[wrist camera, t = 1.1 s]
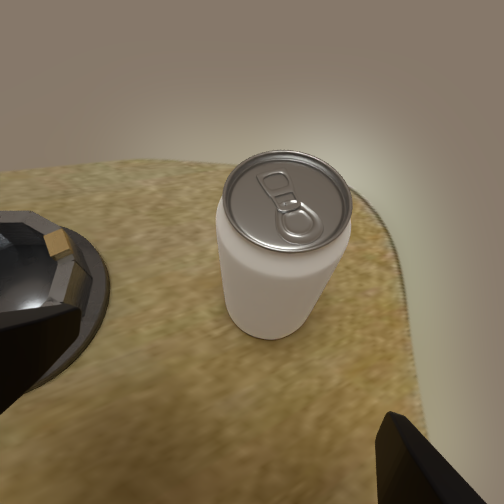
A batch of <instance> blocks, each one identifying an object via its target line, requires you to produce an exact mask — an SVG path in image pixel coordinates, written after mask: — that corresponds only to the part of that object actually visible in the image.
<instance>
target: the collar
mask: <svg viewBox="0 0 504 504" xmlns="http://www.w3.org/2000/svg"><path fill="white" fill-rule="evenodd" d="M109 294H110V282H109V276H108V271H107V268H106V265H105V263H104V261H103V259H102V258H101V256H100V255H99V253H98V252H97V251H96V250H95V248H94V247H93V246H92V245H91V243H90V242H89V241H87V240H86V239H85V238H84V237H83V236H81V235H80V234H78V233H77V232H75V231H72V230H70V229H68V228H65V227H61V226H58V225H56V224H54V223H53V222H51V221H49V220H47V219H45V218H43V217H42V216H40V215H38V214H36V213H34V212H33V211H32V212H31V211H0V312H7V311H15V310H22V309H29V308H37V307H44V306H52V305H59V304H71V305H74V306H77V307H79V308H80V309H81V311H82V315H81V325H80V333H79V336H78V338H77V339H76V341H75V342H74V343H73V344H72V345H71V346H70V347H69V348H68V349H67V350H66V351H65V352H64V354H63V355H62V356H61V357H60V358H59V359H58V360H57V361H56V362H55V363H54V364H53V365H52V367H51V368H50V369H49V370H48V371H47V372H46V373H45V374H44V375H43V376H42V377H41V378H40V379H39V380H38V381H37V382H36V383H35V384H34V385H33V386H32V387H31V388H30V389H29V390H27V391H26V392H25V393H27V392H29V391H31V390H33V389H35V388H37V387H39V386H41V385H43V384H45V383H46V382H48V381H49V380H51V379H53V378H54V377H56V376H57V375H58V374H60V373H61V372H62V371H64V370H65V369H66V368H67V367H68V366H69V365H70V364H71V363H73V362H74V361H75V360H76V359H77V358H78V357H79V356H80V354H81V353H82V352H83V351H84V350H85V349H86V347H87V346H88V345H89V343H90V342H91V340H92V339H93V338H94V336H95V334H96V333H97V331H98V329H99V327H100V325H101V323H102V321H103V318H104V316H105V313H106V309H107V306H108V301H109Z"/></svg>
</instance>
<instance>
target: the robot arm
mask: <svg viewBox="0 0 504 504" xmlns="http://www.w3.org/2000/svg"><path fill="white" fill-rule="evenodd" d="M81 315H82V311H81V309H80V308H79V307H77V306H74V305H71V304H59V305H52V306H44V307H37V308H29V309H22V310H15V311H7V312H0V415H1V414H2V413H3V412H4V411H5V410H6V409H7V408H9V407H10V406H11V405H12V404H13V403H14V402H15V401H16V400H17V399H19V398H20V397H21V396H22V395H23V394H24V393H25V392H26V391H27V390H29V389H30V388H31V387H32V386H33V385H34V384H35V383H36V382H37V381H38V380H39V379H40V378H41V377H42V376H43V375H44V374H45V373H46V372H47V371H48V370H49V369H50V368H51V367H52V365H53V364H54V363H55V362H56V361H57V360H58V359H59V358H60V357H61V356H62V355H63V354H64V352H65V351H66V350H67V349H68V348H69V347H70V346H71V345H72V344H73V343H74V342H75V341H76V339H77V338H78V336H79V333H80V325H81ZM375 452H376V474H377V495H378V504H487V503H486V502H484V500H483V499H482V498H481V497H480V496H479V495H478V494H477V493H476V492H475V491H474V489H473V488H472V487H471V486H470V485H469V484H468V483H467V482H466V481H465V480H464V479H463V478H462V477H461V476H460V475H459V473H458V472H457V471H456V470H455V469H454V468H453V467H452V466H451V465H450V464H449V463H448V462H447V461H446V459H445V458H444V457H443V456H442V455H441V454H440V453H439V452H438V451H437V450H436V449H435V448H434V447H433V446H432V444H431V443H430V442H429V441H428V440H427V439H426V438H425V437H424V436H423V435H422V434H421V433H420V432H419V431H418V429H417V428H416V427H415V426H414V425H413V424H412V423H411V422H410V421H409V420H408V419H407V418H406V417H405V416H403V415H401V414H398V413H395V412H392V411H389V412H387V413H386V415H385V417H384V419H383V421H382V424H381V426H380V428H379V431H378V433H377V435H376V440H375Z"/></svg>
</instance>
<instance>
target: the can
mask: <svg viewBox="0 0 504 504" xmlns="http://www.w3.org/2000/svg"><path fill="white" fill-rule="evenodd" d="M351 214H352V197H351V193H350V190H349V188H348V185H347V184H346V182H345V180H344V179H343V177H342V176H341V175H340V174H339V173H338V172H337V171H336V170H335V169H334V168H333V167H332V166H330V165H329V164H328V163H326V162H324V161H323V160H321V159H319V158H317V157H315V156H312V155H309V154H306V153H302V152H298V151H291V150H274V151H268V152H264V153H260V154H257V155H254V156H252V157H250V158H248V159H246V160H245V161H243V162H241V163H240V164H239V165H238V166H237V167H236V168H235V169H234V170H233V171H232V172H231V173H230V175H229V176H228V178H227V180H226V182H225V185H224V189H223V195H222V197H221V199H220V201H219V204H218V207H217V212H216V233H217V242H218V250H219V258H220V266H221V274H222V282H223V289H224V297H225V303H226V307H227V310H228V313H229V315H230V317H231V319H232V320H233V321H234V323H235V324H236V325H237V326H238V327H239V328H240V329H241V330H243V331H244V332H246V333H247V334H249V335H251V336H254V337H257V338H261V339H269V340H274V339H280V338H283V337H285V336H288V335H290V334H291V333H293V332H294V331H296V330H297V329H298V328H300V327H301V326H302V324H303V323H304V322H305V321H306V319H307V317H308V316H309V314H310V312H311V311H312V309H313V307H314V306H315V304H316V302H317V300H318V298H319V297H320V295H321V293H322V291H323V290H324V288H325V286H326V284H327V282H328V281H329V279H330V277H331V275H332V273H333V272H334V270H335V268H336V266H337V264H338V263H339V261H340V259H341V257H342V255H343V253H344V251H345V249H346V247H347V244H348V241H349V238H350V233H351V219H350V218H351Z"/></svg>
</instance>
